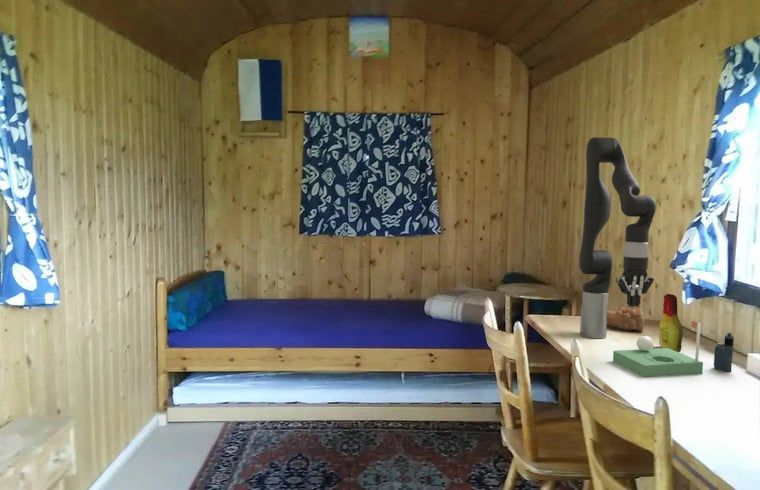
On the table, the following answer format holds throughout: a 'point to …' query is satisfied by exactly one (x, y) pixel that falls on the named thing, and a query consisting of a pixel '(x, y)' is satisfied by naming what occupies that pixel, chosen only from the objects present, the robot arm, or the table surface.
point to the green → (660, 360)
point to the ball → (645, 343)
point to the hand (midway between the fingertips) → (633, 306)
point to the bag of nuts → (626, 318)
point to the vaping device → (724, 354)
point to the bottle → (670, 325)
